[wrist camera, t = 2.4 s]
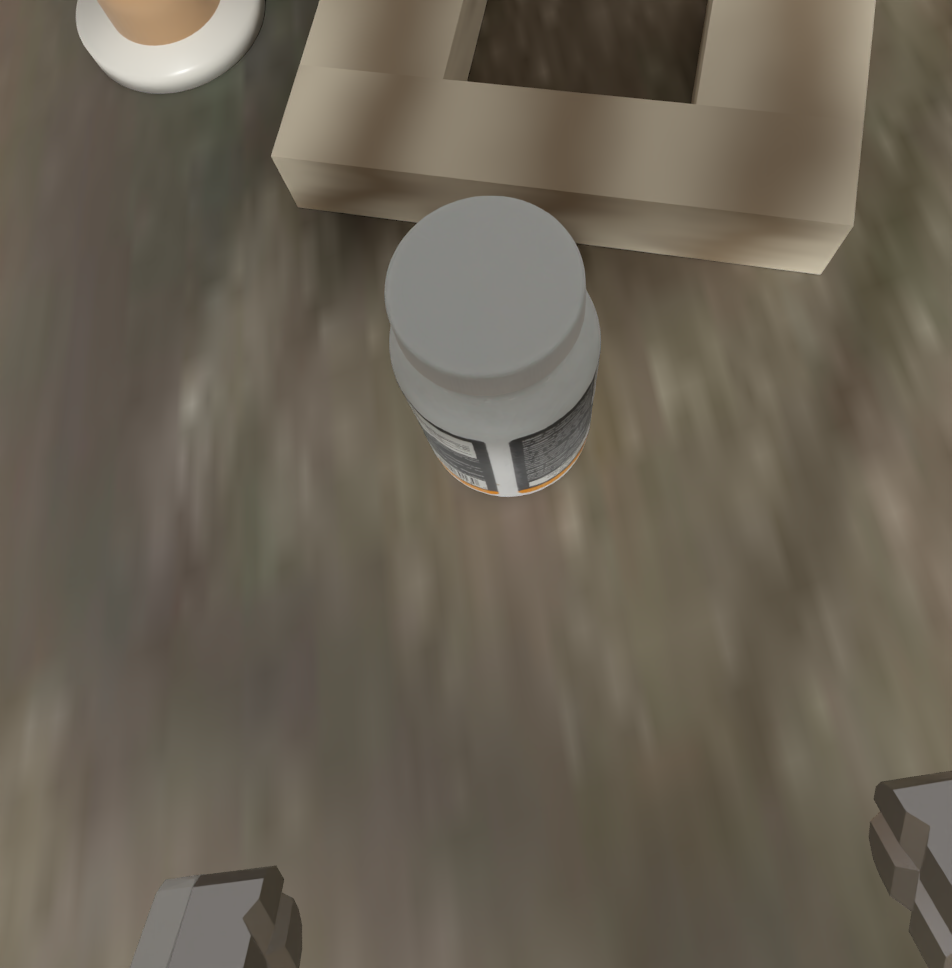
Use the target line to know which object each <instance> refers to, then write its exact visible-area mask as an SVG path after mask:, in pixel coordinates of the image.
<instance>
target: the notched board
mask: <svg viewBox="0 0 952 968" xmlns="http://www.w3.org/2000/svg"><path fill="white" fill-rule="evenodd" d="M486 3H487V0H320V1H319V4H318V7H317V11H316V14H315V17H314V20H313V23H312V27H311V30H310V33H309V36H308V39H307V43H306V46H305V49H304V52H303V55H302V59H301V62H300V65H299V68H298V71H297V75H296V78H295V81H294V84H293V87H292V91H291V94H290V97H289V100H288V103H287V107H286V110H285V113H284V116H283V119H282V123H281V126H280V129H279V132H278V135H277V138H276V142H275V145H274V148H273V151H272V154H271V157H272V159H273V161H274V163H275V165H276V167H277V169H278V170H279V172H280V174H281V176H282V178H283V180H284V182H285V184H286V185H287V187H288V189H289V191H290V193H291V195H292V197H293V199H294V201H295V202H296V204H297V206H298V207H300V208H307V209H315V210H323V211H331V212H338V213H346V214H354V215H362V216H369V217H377V218H385V219H393V220H400V221H408V222H416V223H418V222H419V221H420V220H422V219H423V218H424V217H425V216H427V215H428V214H430V213H432V212H433V211H435V210H437V209H438V208H440V207H442V206H444V205H447V204H449V203H452V202H455V201H458V200H462V199H465V198H470V197H476V196H505V197H511V198H516V199H519V200H523V201H525V202H528V203H531V204H533V205H535V206H537V207H539V208H541V209H543V210H544V211H546V212H548V213H549V214H551V215H552V216H553V217H554V218H556V219H557V220H558V221H559V222H560V223H561V224H562V225H563V227H564V228H565V229H566V230H567V231H568V233H569V234H570V235H571V237H572V238H573V240H574V241H575V243H579V244H587V245H594V246H602V247H610V248H618V249H625V250H633V251H641V252H649V253H656V254H664V255H672V256H680V257H687V258H695V259H703V260H711V261H718V262H726V263H734V264H742V265H749V266H757V267H765V268H773V269H780V270H788V271H796V272H804V273H811V274H819V275H821V273H822V272H823V270H824V269H825V267H826V266H827V264H828V263H829V261H830V260H831V258H832V257H833V255H834V254H835V252H836V251H837V249H838V248H839V246H840V245H841V243H842V242H843V241H844V239H845V238H846V236H847V235H848V233H849V232H850V230H851V229H852V227H853V225H854V215H855V205H856V195H857V185H858V175H859V165H860V155H861V144H862V134H863V124H864V114H865V104H866V94H867V84H868V74H869V64H870V53H871V43H872V33H873V23H874V13H875V3H876V0H708V2H707V8H706V14H705V20H704V26H703V33H702V39H701V45H700V51H699V57H698V63H697V69H696V75H695V81H694V88H693V94H692V100H691V104H687V103H677V102H667V101H657V100H647V99H637V98H627V97H617V96H607V95H597V94H587V93H577V92H567V91H557V90H547V89H537V88H528V87H518V86H508V85H498V84H488V83H478V82H468V81H467V80H468V76H469V72H470V68H471V64H472V60H473V56H474V52H475V48H476V44H477V40H478V36H479V32H480V28H481V24H482V19H483V15H484V11H485V7H486Z"/></svg>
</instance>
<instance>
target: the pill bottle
mask: <svg viewBox="0 0 952 968" xmlns="http://www.w3.org/2000/svg"><path fill="white" fill-rule="evenodd" d="M384 295H385V306H386V311H387V315H388V319H389V322H390V325H391V327H390V338H389V346H390V357H391V363H392V367H393V371H394V374H395V377H396V380H397V383H398V385H399V387H400V389H401V391H402V392H403V394H404V395H405V397H406V399H407V401H408V403H409V405H410V406H411V408H412V410H413V412H414V414H415V416H416V418H417V419H418V422H419V424H420V425H421V427H422V429H423V431H424V433H425V435H426V437H427V439H428V441H429V443H430V445H431V447H432V449H433V451H434V453H435V454H436V456H437V457H438V459H439V460H440V462H441V463H442V464H443V466H444V467H445V468H446V469H447V470H448V472H449V473H451V474H452V475H453V476H454V477H455V478H456V479H457V480H459V481H460V482H462V483H463V484H465V485H466V486H468V487H470V488H472V489H474V490H477V491H479V492H483V493H486V494H490V495H495V496H501V497H513V496H522V495H526V494H531V493H533V492H536V491H539V490H542V489H544V488H545V487H547V486H549V485H551V484H553V483H554V482H556V481H557V480H558V479H560V478H561V477H562V476H563V475H564V474H565V473H566V472H568V470H569V469H570V468H571V467H572V466H573V464H574V463H575V462H576V460H577V459H578V457H579V455H580V453H581V452H582V450H583V447H584V445H585V442H586V439H587V435H588V432H589V429H590V421H591V414H592V405H593V399H594V394H595V387H596V379H597V372H598V365H599V357H600V349H601V332H600V326H599V320H598V316H597V313H596V309H595V307H594V304H593V302H592V299H591V298H590V296H589V294H588V292H587V290H586V277H585V269H584V264H583V260H582V257H581V254H580V252H579V249H578V247H577V245H576V243H575V241H574V240H573V238H572V237H571V235H570V234H569V233H568V231H567V230H566V229H565V228H564V227H563V225H562V224H561V223H560V222H559V221H558V220H557V219H556V218H554V217H553V216H552V215H551V214H549V213H548V212H546V211H544V210H543V209H541V208H539V207H537V206H535V205H533V204H531V203H528V202H525V201H523V200H519V199H516V198H511V197H505V196H476V197H470V198H465V199H462V200H458V201H455V202H452V203H449V204H447V205H444V206H442V207H440V208H438V209H437V210H435V211H433V212H432V213H430V214H428V215H427V216H425V217H424V218H423V219H422V220H420V221H419V222H418V223H417V224H416V225H415V226H414V227H412V229H411V230H410V231H409V232H408V233H407V234H406V235H405V236H404V238H403V239H402V241H401V242H400V243H399V245H398V247H397V248H396V250H395V252H394V254H393V256H392V259H391V261H390V264H389V267H388V270H387V275H386V280H385V293H384Z"/></svg>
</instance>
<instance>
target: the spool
mask: <svg viewBox="0 0 952 968" xmlns="http://www.w3.org/2000/svg"><path fill="white" fill-rule="evenodd" d="M264 13H265V0H78V2H77V7H76V24H77V30H78V33H79V36H80V39H81V40H82V42H83V44H84V46H85V47H86V49H87V50H88V52H89V53H90V54H91V56H92V57H93V58H94V60H95V61H96V62H97V64H98V65H99V66H100V68H101V69H102V70H103V72H104V73H105V74H106V75H108V76H109V77H110V78H111V79H112V80H114V81H115V82H117V83H118V84H120V85H122V86H124V87H126V88H129V89H132V90H135V91H138V92H144V93H153V94H166V93H176V92H181V91H186V90H189V89H193V88H196V87H198V86H201V85H203V84H206V83H208V82H210V81H212V80H214V79H215V78H217V77H219V76H220V75H222V74H223V73H225V72H226V71H228V70H229V69H230V68H231V67H233V66H234V65H235V64H236V63H237V62H238V61H239V60H240V59H241V58H242V57H243V56H244V55H245V54H246V53H247V51H248V50H249V49H250V47H251V46H252V44H253V43H254V41H255V39H256V37H257V36H258V33H259V31H260V29H261V26H262V23H263V19H264Z"/></svg>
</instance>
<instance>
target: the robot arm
mask: <svg viewBox="0 0 952 968" xmlns="http://www.w3.org/2000/svg"><path fill="white" fill-rule="evenodd" d="M874 801H875V803H876V804H877V806H878V808H879V810H880V812H879V813H878V814H877V815H876V816H875V817H874V818H873V819H872V820H871V821H870V829H869V841H870V846H871V851H872V856H873V860H874V862H875V865H876V868H877V870H878V873H879V875H880V877H881V879H882V881H883V883H884V885H885V887H886V889H887V891H888V893H889V895H890V896H891V897H892V898H894V899H895V900H896V901H898V902H899V903H901V904H902V905H903V906H905V907H906V908H907V909H909V910H910V911H911V919H910V925H909V933H910V935H911V936H912V938H913V940H914V942H915V944H916V946H917V948H918V949H919V951H920V953H921V955H922V957H923V959H924V961H925V962H926V964H927V966H928V968H952V771H947V772H940V773H934V774H927V775H921V776H914V777H908V778H902V779H895V780H889V781H882V782H880V783H879V784H878V785H877V786H876V789H875V795H874ZM283 882H284V878H283V877H282V875H281V873H280V871H279V870H278V868H277V866H269V867H261V868H253V869H245V870H237V871H229V872H222V873H214V874H201V875H194V876H187V877H180V878H173V879H166V880H165V881H164V883H163V884H162V885H161V887H160V888H159V890H158V891H157V893H156V894H155V897H154V900H153V903H152V906H151V908H150V911H149V914H148V917H147V920H146V923H145V925H144V928H143V931H142V934H141V937H140V940H139V942H138V945H137V948H136V951H135V954H134V957H133V959H132V962H131V965H130V968H299V966H300V959H301V953H302V923H301V918H300V913H299V909H298V907H297V905H296V903H295V900H294V898H292V897H290V896H288V895H286V894H284V893H282V888H283Z"/></svg>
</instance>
